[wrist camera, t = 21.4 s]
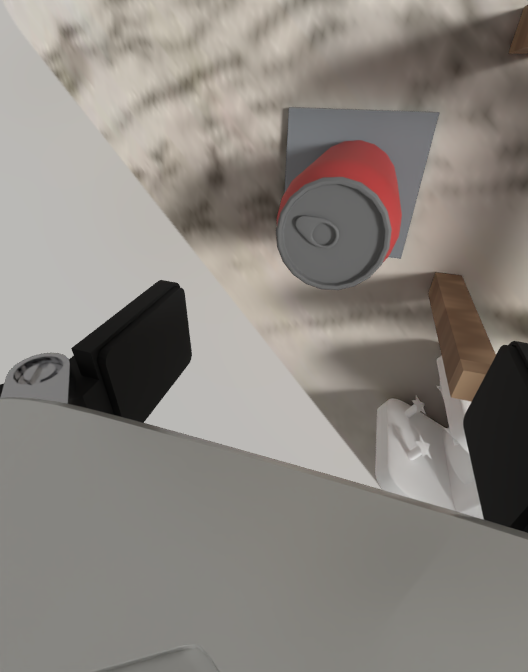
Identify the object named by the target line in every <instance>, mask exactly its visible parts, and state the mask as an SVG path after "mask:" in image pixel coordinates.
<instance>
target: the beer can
mask: <svg viewBox="0 0 528 672" xmlns="http://www.w3.org/2000/svg"><path fill="white" fill-rule="evenodd" d="M401 218H402V213H401V205H400V198H399V190H398V183H397V177H396V172H395V168H394V165H393V163H392V162H391V160H390V158H389V157H388V155H387V154H386V153H385V152H384V151H383V150H381V149H380V148H379V147H377V146H376V145H375V144H372V143H369V142H365V141H362V140H354V141H344V142H342V143H339V144H337V145H335V146H332V147H330V148H329V149H328V150H327V151H326V152H325V153H323V154H322V155H321V156H320V157H319V158H318V159H317V160H315V161H314V162H313V163H312V164H311V165H310V166H309V167H307V168H306V169H305V170H304V171H303V172H302V173H300V174H299V175H298V176H297V177H296V178H295V179H294V180H292V182H291V183H290V185H289V187H288V188H287V190H286V192H285V193H284V195H283V197H282V199H281V203H280V207H279V211H278V215H277V228H276V236H277V247H278V250H279V253H280V255H281V258H282V260H283V262H284V264H285V265H286V266H287V268H288V269H289V270H290V271H291V273H292V274H293V275H294V276H296V277H297V278H299V279H300V280H301V281H303V282H304V283H306V284H308V285H311V286H314V287H316V288H319V289H326V290H341V289H345V288H349V287H353V286H356V285H357V284H359V283H361V282H363V281H364V280H366V279H368V278H370V277H371V275H372V274H373V273H374V272H375V271H376V270H377V269H378V268H379V267H380V266H381V265H382V263H383V262H384V261H385V260H386V259H387V258H388V256H389V255H390V254H391V251H392V249H393V247H394V245H395V243H396V241H397V239H398V237H399V233H400V226H401Z"/></svg>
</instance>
